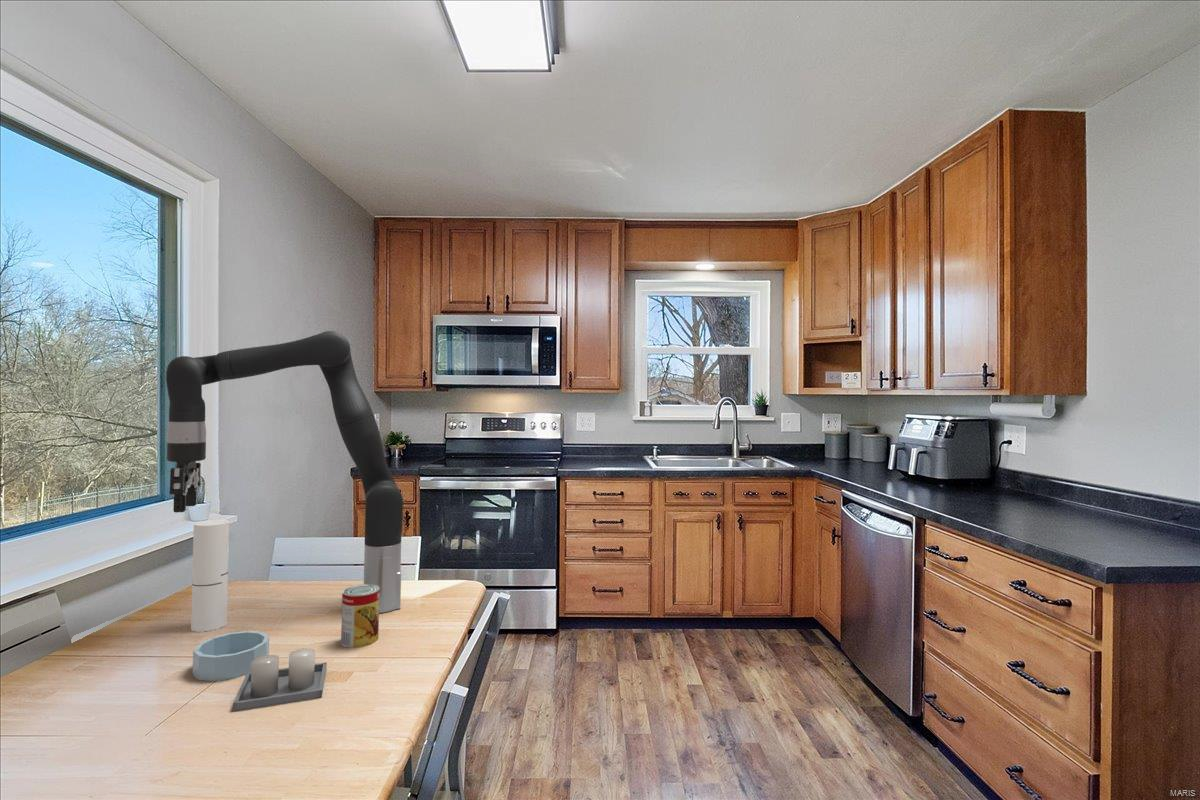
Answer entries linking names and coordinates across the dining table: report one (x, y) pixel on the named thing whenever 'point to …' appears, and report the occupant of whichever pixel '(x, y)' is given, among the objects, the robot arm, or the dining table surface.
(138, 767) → the dining table surface
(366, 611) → the canned food
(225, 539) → the cylindrical container
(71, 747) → the dining table surface
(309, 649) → the white glass cylinder
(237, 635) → the bowl
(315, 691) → the tray
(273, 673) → the white cylinder
